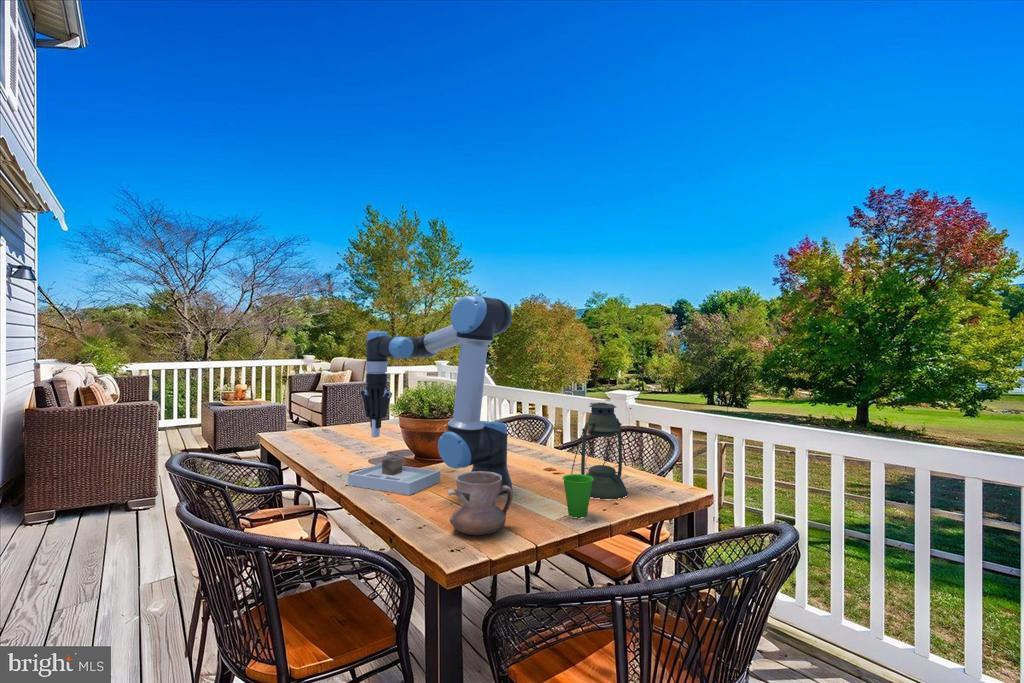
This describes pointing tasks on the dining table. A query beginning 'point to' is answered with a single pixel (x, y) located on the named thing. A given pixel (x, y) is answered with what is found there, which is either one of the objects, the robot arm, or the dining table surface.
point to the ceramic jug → (479, 503)
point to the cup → (578, 493)
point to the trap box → (394, 479)
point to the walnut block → (392, 466)
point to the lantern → (604, 476)
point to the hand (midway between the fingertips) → (375, 436)
